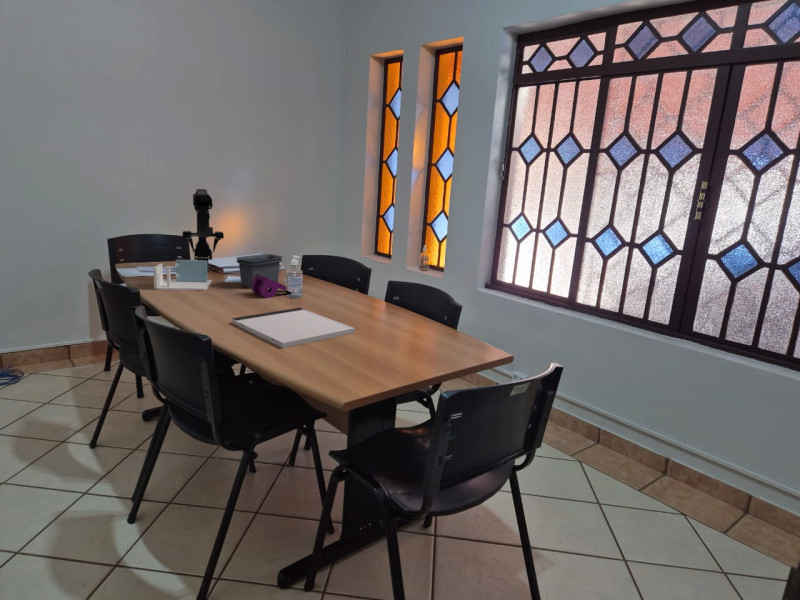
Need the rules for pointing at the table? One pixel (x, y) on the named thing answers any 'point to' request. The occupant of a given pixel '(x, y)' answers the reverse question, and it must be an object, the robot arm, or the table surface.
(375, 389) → the table surface
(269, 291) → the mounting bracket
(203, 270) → the door panel
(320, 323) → the white flat slab
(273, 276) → the storage bin
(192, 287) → the cabinet base
